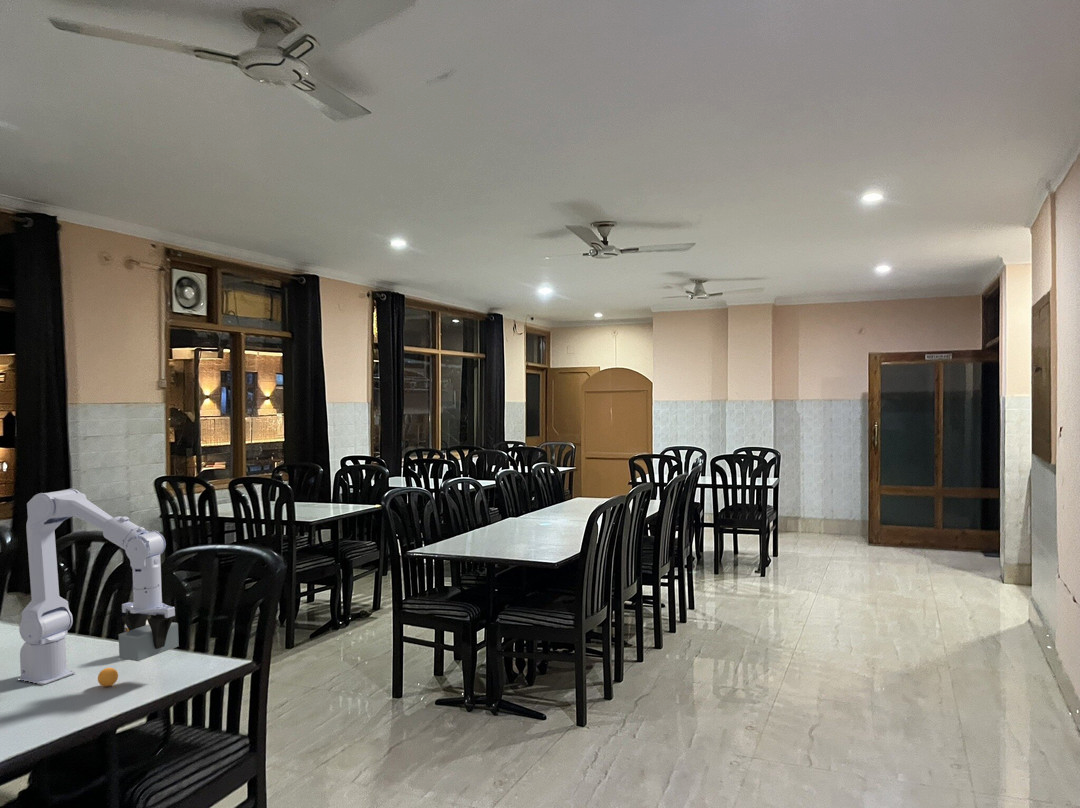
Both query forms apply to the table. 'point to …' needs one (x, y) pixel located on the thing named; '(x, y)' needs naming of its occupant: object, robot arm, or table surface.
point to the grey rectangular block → (145, 643)
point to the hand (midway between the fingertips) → (149, 646)
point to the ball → (107, 677)
